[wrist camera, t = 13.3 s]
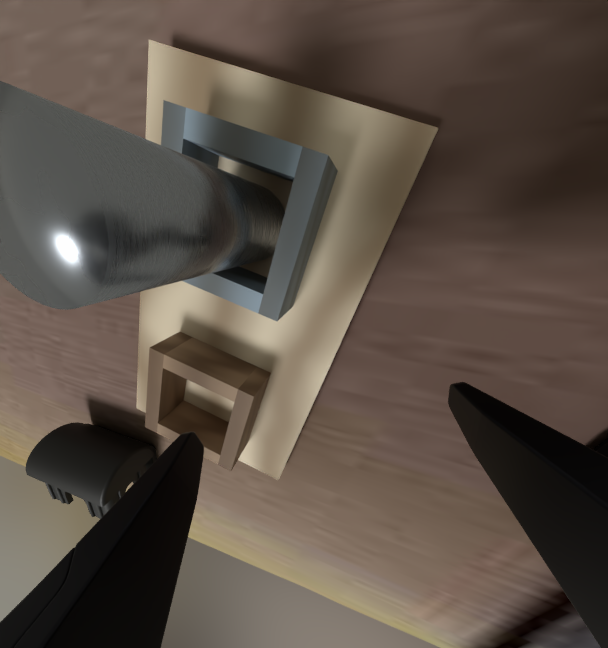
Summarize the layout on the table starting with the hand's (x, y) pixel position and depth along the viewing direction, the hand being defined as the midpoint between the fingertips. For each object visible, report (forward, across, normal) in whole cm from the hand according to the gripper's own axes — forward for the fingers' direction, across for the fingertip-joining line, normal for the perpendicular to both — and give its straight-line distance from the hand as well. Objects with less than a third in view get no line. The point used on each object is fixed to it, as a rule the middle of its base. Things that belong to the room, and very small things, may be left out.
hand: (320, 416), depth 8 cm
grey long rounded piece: (+10, +2, -6) cm, 12 cm away
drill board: (+12, +5, +1) cm, 13 cm away
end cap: (+15, +26, +16) cm, 34 cm away
